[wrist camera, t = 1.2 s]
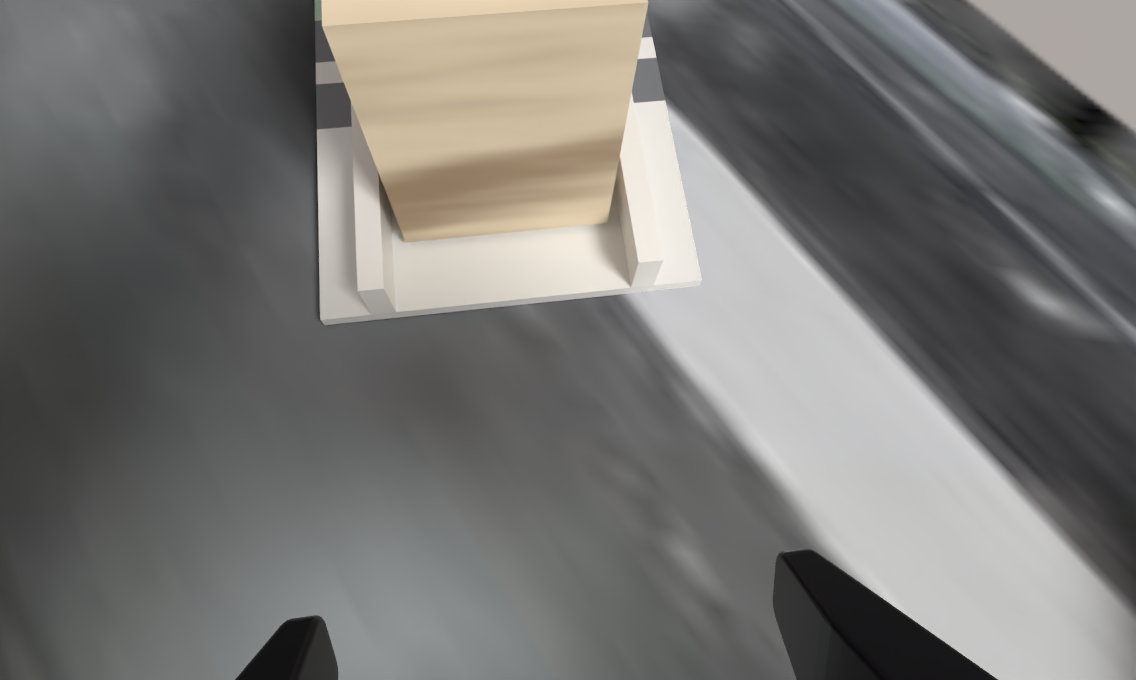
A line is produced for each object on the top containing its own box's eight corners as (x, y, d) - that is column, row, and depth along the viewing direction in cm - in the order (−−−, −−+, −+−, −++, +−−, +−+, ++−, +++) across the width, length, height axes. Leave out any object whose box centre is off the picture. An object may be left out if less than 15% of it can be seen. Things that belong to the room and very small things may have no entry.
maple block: (607, 223, 25) (648, 2, 16) (405, 242, 25) (321, 25, 15) (587, 104, 27) (614, -162, 17) (398, 119, 26) (318, -146, 17)
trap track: (698, 286, 25) (715, 254, 23) (324, 325, 24) (301, 296, 22) (621, -94, 31) (628, -150, 29) (316, -75, 30) (297, -132, 28)
